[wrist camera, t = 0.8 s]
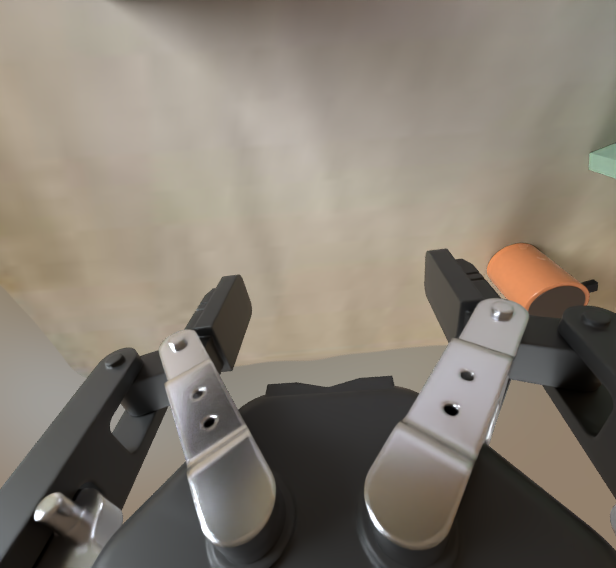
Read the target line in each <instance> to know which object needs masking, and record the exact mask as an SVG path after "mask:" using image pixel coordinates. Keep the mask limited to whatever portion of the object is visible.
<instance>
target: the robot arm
mask: <svg viewBox="0 0 616 568" xmlns="http://www.w3.org/2000/svg"><path fill="white" fill-rule="evenodd" d="M424 286H425V293H426V296H427V299H428V301H429V303H430V305H431V307H432V309H433V311H434V313H435V315H436V317H437V320H438V322H439V324H440V326H441V328H442V330H443V332H444V334H445V336H446V338H447V340H448V343H449V344H448V345H447V347H446V349H445V351H444V352H443V354H442V356H441V358H440V359H439V361H438V362H437V364H436V366H435V368H434V370H433V371H432V373H431V374H430V376H429V378H428V380H427V381H426V383H425V385H424V387H423V388H422V390H421V392H420V393H417V392H415V391H412V390H410V389H407V388H403V387H398V386H394V382H393V378H392V376H383V377H369V378H359V379H355V380H352V381H348V382H345V383H342V384H338V385H335V386H332V387H321V386H316V385H309V384H303V383H297V382H296V383H282V384H268V385H267V390H266V395H263V396H260V397H258V398H255V399H254V400H252V401H250V402H248V403H247V404H245V405H244V406H242V407H241V408H240V409H237V407H236V405H235V403H234V401H233V399H232V398H231V396H230V394H229V392H228V390H227V388H226V386H225V385H224V383H223V381H222V379H221V377H220V374H221V372H226V371H232V370H233V367H234V364H235V362H236V359H237V356H238V353H239V350H240V347H241V344H242V341H243V338H244V335H245V332H246V330H247V327H248V324H249V321H250V318H251V315H252V306H251V301H250V299H249V296H248V293H247V290H246V287H245V284H244V281H243V279H242V277H241V276H240V275H232V276H224V277H222V278H221V280H220V282H219V284H218V285H217V287H216V288H214V289H212V290H211V291H210V292H209V293H207V294H206V295H205V296H204V298H203V300H202V301H201V303H200V305H199V306H198V308H197V309H196V310H197V311H195V313H194V314H193V316H192V318H191V319H190V321H189V323H188V324H187V326H186V328H185V329H184V330H181V331H178V332H176V333H173V334H172V335H170V336H168V337H167V338H166V339H165V340H164V341H163V342H162V343H161V345H160V346H159V350H158V351H155V352H152V353H149V354H145V355H142V356H139V355H138V353H137V352H136V350H135V349H133V348H123V349H119V350H117V351H115V352H113V353H111V354H109V355H108V356H106V357H105V358H104V359H102V360H101V361H100V362H99V364H98V365H97V366H96V367H95V369H94V370H93V371H92V372H91V374H90V375H89V376H88V377H87V379H86V380H85V381H84V383H83V384H82V385H81V386H80V388H79V389H78V390H77V392H76V393H75V394H74V395H73V397H72V398H71V399H70V401H69V402H68V403H67V404H66V406H65V407H64V408H63V410H62V411H61V412H60V413H59V415H58V416H57V417H56V418H55V420H54V421H53V422H52V424H51V425H50V426H49V427H48V429H47V430H46V431H45V433H44V434H43V435H42V437H41V438H40V439H39V440H38V441H37V443H36V444H35V445H34V447H33V448H32V449H31V450H30V452H29V453H28V454H27V456H26V457H25V458H24V460H23V461H22V462H21V463H20V465H19V466H18V467H17V469H16V470H15V471H14V472H13V473H12V475H11V476H10V477H9V479H8V480H7V481H6V482H5V484H4V485H3V486H2V488H1V489H0V568H616V550H615V549H614V548H612V546H611V545H610V544H609V543H608V542H607V541H606V540H605V539H604V538H603V537H602V536H600V535H599V534H598V533H597V532H596V531H595V530H594V529H592V528H591V527H590V526H589V525H587V524H586V523H585V522H584V521H583V520H581V519H580V518H579V517H578V516H576V515H575V514H574V513H572V512H571V511H570V510H569V509H567V508H566V507H565V506H564V505H562V504H561V503H560V502H559V501H557V500H556V499H555V498H554V497H552V496H551V495H550V494H549V493H547V492H546V491H545V490H544V489H542V488H541V487H540V486H539V485H537V484H536V483H535V482H534V481H532V480H531V479H530V478H528V477H527V476H526V475H525V474H524V473H522V472H521V471H520V470H518V469H517V468H516V467H515V466H513V465H512V464H511V463H510V462H508V461H507V460H506V459H505V458H503V457H502V456H501V455H500V454H498V453H497V452H496V451H495V450H493V449H492V448H491V447H490V446H489V444H490V441H491V437H492V434H493V431H494V428H495V425H496V422H497V419H498V416H499V413H500V410H501V407H502V405H503V402H504V399H505V396H506V393H507V390H508V387H509V384H510V381H511V379H512V380H518V381H524V382H529V383H534V384H540V385H543V387H544V389H545V390H546V392H547V393H548V395H549V396H550V398H551V399H552V401H553V403H554V404H555V406H556V407H557V409H558V410H559V412H560V413H561V415H562V417H563V418H564V420H565V421H566V423H567V424H568V426H569V427H570V429H571V431H572V432H573V434H574V435H575V437H576V438H577V440H578V441H579V443H580V445H581V446H582V448H583V449H584V451H585V452H586V454H587V455H588V457H589V458H590V460H591V461H592V463H593V464H594V466H595V468H596V469H597V471H598V472H599V474H600V475H601V477H602V479H603V480H604V482H605V483H606V485H607V486H608V488H609V489H610V491H611V493H612V494H613V496H614V497H615V499H616V313H614V312H611V311H609V310H606V309H603V308H599V307H594V306H585V305H579V306H572V307H569V308H567V309H566V310H565V311H564V312H563V315H562V318H551V317H541V316H533V315H529V313H528V311H527V310H526V309H525V308H524V307H523V306H522V305H520V304H518V303H516V302H514V301H511V300H507V299H501V298H500V296H499V295H498V294H497V293H496V292H495V290H494V289H493V288H492V287H491V286H490V284H489V283H488V282H487V281H486V280H484V277H483V276H482V275H481V274H480V273H479V271H478V270H477V269H476V268H475V266H474V265H473V264H471V263H469V262H467V261H465V260H463V259H455V258H454V257H453V256H452V254H451V253H450V252H449V251H448V249H439V250H431V251H427V252H426V257H425V281H424ZM120 404H121V405H122V406H123V407H124V408H125V412H124V413H123V415H122V417H121V419H120V420H119V422H118V424H117V425H116V427H115V429H114V431H113V432H112V433H111V431H110V421H111V418H112V416H113V415H114V412H115V411H116V410H117V408H118V406H119V405H120ZM168 406H170V407H171V410H172V414H173V417H174V421H175V424H176V428H177V431H178V435H179V438H180V442H181V445H182V449H183V452H184V455H185V459H186V462H185V463H184V464H183V465H182V466H181V467H180V468H179V469H178V470H177V471H176V472H175V473H174V474H173V475H172V476H171V477H170V478H169V479H168V480H167V481H166V482H165V483H164V484H163V485H162V486H161V487H160V488H159V489H158V490H157V491H156V492H155V493H154V494H153V495H152V496H151V497H150V498H149V499H148V500H147V501H146V502H145V503H144V504H143V505H142V506H141V507H140V508H139V509H138V510H137V511H136V512H135V513H134V514H133V515H132V516H131V517H130V518H129V519H128V520H127V521H126V522H125V523H124V524H123V525H122V522H123V515H122V512H121V510H122V508H123V506H124V504H125V502H126V499H127V497H128V495H129V493H130V491H131V488H132V486H133V484H134V481H135V479H136V477H137V475H138V472H139V470H140V468H141V466H142V464H143V461H144V459H145V457H146V455H147V453H148V450H149V448H150V446H151V444H152V441H153V439H154V437H155V435H156V433H157V430H158V428H159V426H160V424H161V421H162V419H163V417H164V415H165V412H166V410H167V408H168ZM610 521H611V525H612V529H613V531H614V533H615V535H616V504H615V505H614V506H613V508H612V510H611V513H610Z"/></svg>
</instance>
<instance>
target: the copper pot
mask: <svg viewBox="0 0 616 568" xmlns="http://www.w3.org/2000/svg"><path fill="white" fill-rule="evenodd" d="M487 274H488V277H489V278H490V280H491V281H492V282H493V283H494V284H495V286H496V287H497V288H498V289H499V290H500V292H501V293H502V294H503V295H504V296H505V298H506V299H507V300H511V301H514V302H516V303H518V304H520V305H522V306H523V307H524V308H525V309H526V310H527V311H528V313H529V315H533V316H541V317H551V318H562V315H563V312H564V311H565V310H566V309H567V308H569V307H572V306H579V305H585V306H587V304H588V302H589V297H590V295H589V293H591V292H594V291H597V290H598V282H597V281H595V280H594V279H593V280H589V281H586V282H582V283H580V282H579V281H578V280H577V279H575V278H574V277H573V276H572V275H570V274H569V273H568V272H566V271H565V270H564V269H563V268H561V267H560V266H559V265H557V264H556V263H555V262H554V261H552V260H551V259H550V258H548V257H547V256H546V255H545V254H543V253H542V252H541V251H540V250H538V249H537V248H536V247H534V246H533V245H530V244H526V243H517V244H513V245H509V246H507V247H505V248H503V249H501V250H500V251H499V252H497V253H496V254H495V255H494V256H493V257H492V259H491V260H490V262H489V264H488V267H487Z"/></svg>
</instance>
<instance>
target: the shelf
mask: <svg viewBox="0 0 616 568" xmlns="http://www.w3.org/2000/svg"><path fill="white" fill-rule="evenodd" d="M589 170H591V171H594V172H597V173H600V174H603V175H606V176H609V177H612V178H615V179H616V143H614V144H612V145H609V146H607V147H604V148H601V149H599V150H596V151H594V152H591V153H590V154H589Z"/></svg>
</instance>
